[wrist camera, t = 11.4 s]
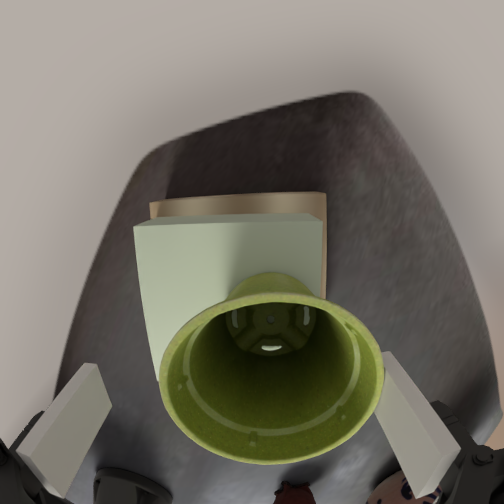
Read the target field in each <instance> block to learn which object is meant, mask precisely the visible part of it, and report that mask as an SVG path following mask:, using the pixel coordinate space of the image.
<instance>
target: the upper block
mask: <svg viewBox="0 0 504 504" xmlns="http://www.w3.org/2000/svg"><path fill="white" fill-rule="evenodd" d="M133 227H134V239H135V249H136V258H137V267H138V275H139V283H140V290H141V297H142V304H143V310H144V316H145V322H146V328H147V334H148V339H149V344H150V349H151V354H152V359H153V364H154V368H155V373H156V377H157V381H159V370H160V364H161V360H162V357H163V354H164V352H165V350H166V348H167V346H168V344H169V343H170V341H171V340H172V338H173V337H174V336H175V334H176V333H177V332H178V331H179V330H180V328H181V327H182V326H183V325H184V324H185V323H186V322H188V321H189V320H190V319H191V318H193V317H194V316H196V315H197V314H198V313H200V312H202V311H203V310H205V309H206V308H208V307H211V306H213V305H215V304H217V303H219V302H222V301H224V300H225V299H226V298H227V297H228V295H229V294H230V293H231V292H232V291H233V289H234V288H235V287H236V286H237V285H239V284H240V283H241V282H242V281H244V280H245V279H247V278H249V277H251V276H254V275H257V274H261V273H268V272H276V273H282V274H286V275H289V276H291V277H294V278H295V279H297V280H299V281H300V282H302V283H303V284H304V285H305V286H306V287H307V288H308V289H309V290H310V291H311V292H312V293H313V294H314V295H315V296H317V297H320V287H321V265H322V232H323V221H321V220H319V219H318V218H316V217H314V216H312V215H311V214H309V213H267V214H224V215H195V216H171V217H156V218H153V219H151V220H148V221H146V222H143V223H141V224H138V225H136V226H133ZM309 319H310V317H309V308H308V307H306V306H305V307H304V323H303V324H304V325H307V324H308V322H309ZM267 321H268V322H269V323H272V322H274V317H273V316H268V318H267ZM232 322H233V326H234V327H236V328H238V324H237V310H233V312H232ZM281 347H282V346H279V347H278V346H262V349H264V350H276V349H279V348H281Z"/></svg>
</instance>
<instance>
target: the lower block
mask: <svg viewBox="0 0 504 504" xmlns="http://www.w3.org/2000/svg"><path fill="white" fill-rule="evenodd" d="M267 213H309V214H311V215H312V216H314V217H316V218H318V219H319V220H321V221H323V232H322V265H321V287H320V298H323V299H325V297H326V258H327V214H326V193H321V192H314V191H313V192H275V193H251V194H232V195H215V196H201V197H187V198H175V199H164V200H160V201H155V202H150V215H151V219H153V218H156V217H171V216H195V215H224V214H267Z"/></svg>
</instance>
